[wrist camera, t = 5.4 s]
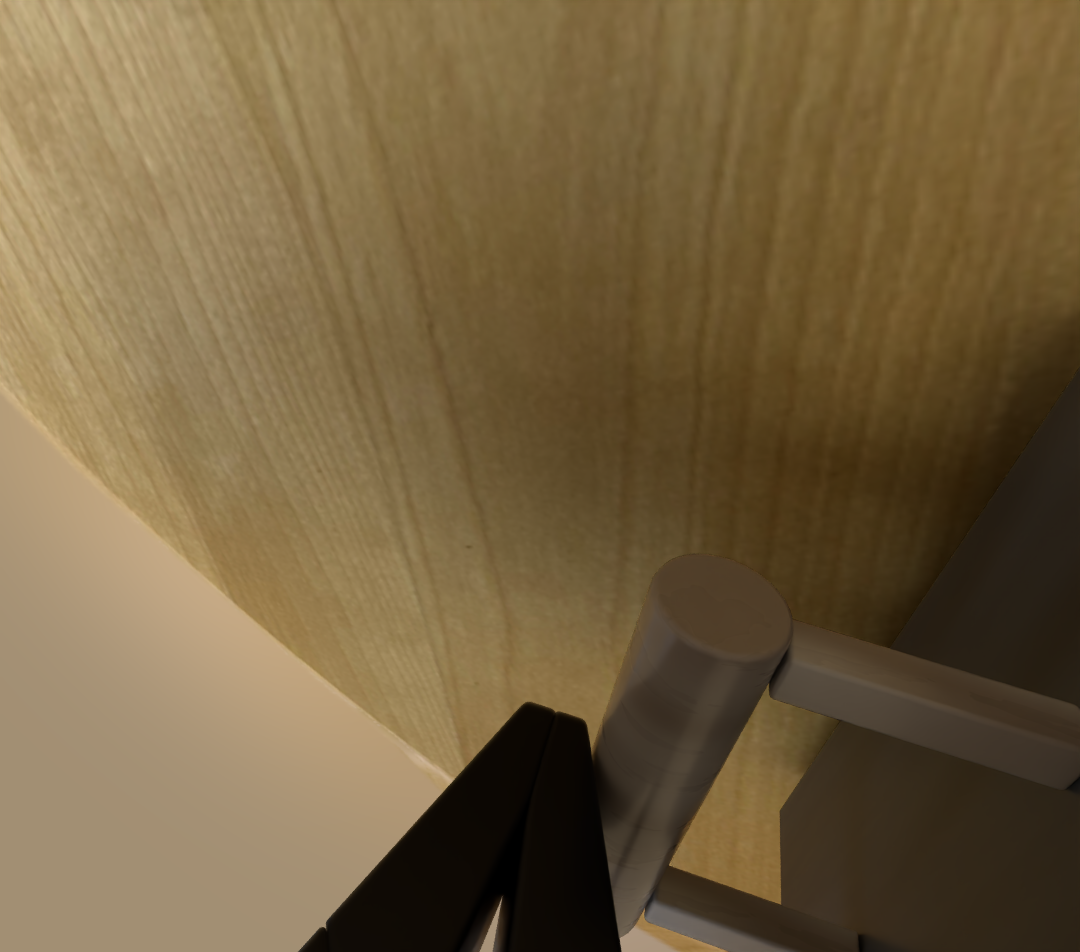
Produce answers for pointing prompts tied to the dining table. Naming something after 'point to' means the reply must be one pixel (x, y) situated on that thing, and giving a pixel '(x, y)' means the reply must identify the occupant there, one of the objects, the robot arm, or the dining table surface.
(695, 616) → the drawer
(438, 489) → the dining table surface
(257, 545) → the dining table surface
